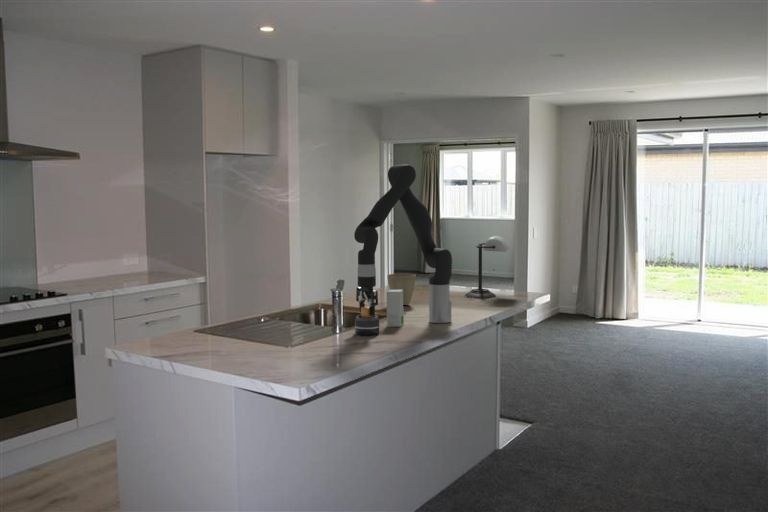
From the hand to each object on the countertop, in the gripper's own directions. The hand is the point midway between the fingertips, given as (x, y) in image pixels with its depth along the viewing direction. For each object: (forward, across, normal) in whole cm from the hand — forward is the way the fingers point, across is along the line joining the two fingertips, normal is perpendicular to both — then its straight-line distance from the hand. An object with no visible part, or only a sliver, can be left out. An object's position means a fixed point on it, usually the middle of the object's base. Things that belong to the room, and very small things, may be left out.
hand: (367, 313), depth 272 cm
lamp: (+8, +53, -106) cm, 119 cm away
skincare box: (+8, +9, -19) cm, 23 cm away
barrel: (+8, 0, 0) cm, 8 cm away
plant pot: (+8, +53, -50) cm, 73 cm away
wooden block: (+2, 0, 0) cm, 2 cm away
